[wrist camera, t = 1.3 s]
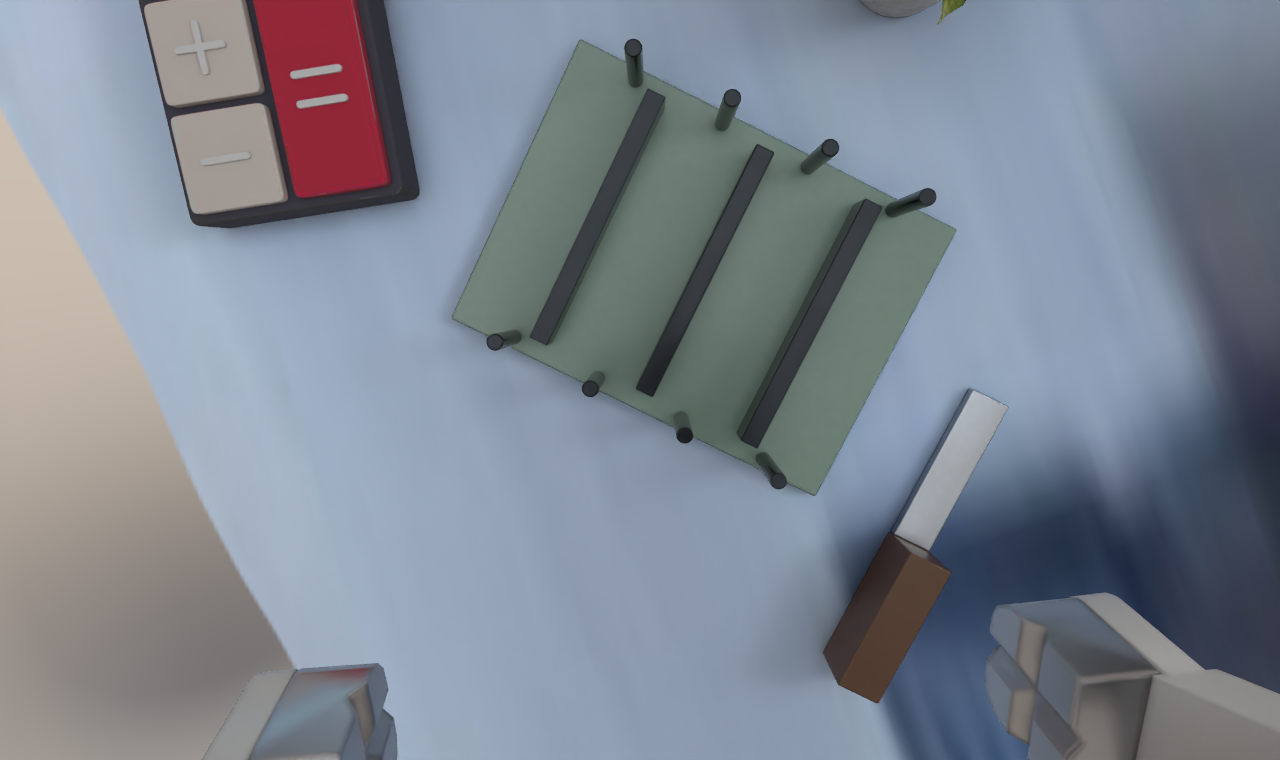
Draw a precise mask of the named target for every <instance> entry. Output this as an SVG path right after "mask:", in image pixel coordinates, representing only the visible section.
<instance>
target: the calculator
mask: <svg viewBox="0 0 1280 760" xmlns="http://www.w3.org/2000/svg"><path fill="white" fill-rule="evenodd" d="M139 4H140V8H141V13H142V17H143V21H144V25H145V29H146V34H147V38H148V42H149V46H150V50H151V55H152V59H153V63H154V67H155V72H156V76H157V80H158V84H159V88H160V93H161V97H162V101H163V105H164V109H165V114H166V118H167V122H168V126H169V130H170V135H171V139H172V143H173V147H174V151H175V156H176V160H177V164H178V168H179V172H180V177H181V181H182V185H183V189H184V193H185V198H186V202H187V206H188V210H189V214H190V218H191V220H192V222H193V223H194V224H196V225H199V226H207V227H220V228H235V227H241V226H248V225H254V224H261V223H267V222H274V221H280V220H286V219H293V218H299V217H306V216H312V215H318V214H325V213H331V212H338V211H344V210H351V209H357V208H363V207H370V206H376V205H383V204H389V203H395V202H402V201H408V200H413V199H415V198H417V196H418V195H419V186H418V180H417V175H416V170H415V165H414V159H413V154H412V149H411V144H410V138H409V133H408V128H407V123H406V117H405V112H404V107H403V102H402V96H401V91H400V86H399V81H398V75H397V70H396V65H395V60H394V54H393V49H392V44H391V39H390V33H389V28H388V23H387V18H386V12H385V7H384V2H383V0H139Z"/></svg>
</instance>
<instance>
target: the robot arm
mask: <svg viewBox="0 0 1280 760" xmlns="http://www.w3.org/2000/svg"><path fill="white" fill-rule="evenodd" d="M990 632H991V634H992V635H993V636H994V638H995V639H996V640H997V642H998V643H999V645H998V646H997V648H996V649H995V650H994V651H993V652H992V654H991V655H990V656H989V657H988V658H987V662H986V675H985V682H986V687H987V692H988V696H989V701H990V704H991V706H992V708H993V710H994V712H995V715H996V717H997V719H998V720H999V721H1000V723H1001V724H1002V726H1003V727H1004V729H1005V730H1006V731H1007V733H1008V734H1010V735H1012V736H1014V737H1015V738H1017V739H1019V740H1021V741H1022V742H1024V743H1026V744H1028V745H1029V751H1028V760H1280V694H1278V693H1276V692H1273V691H1271V690H1268V689H1266V688H1263V687H1261V686H1258V685H1256V684H1253V683H1250V682H1248V681H1245V680H1243V679H1240V678H1238V677H1235V676H1233V675H1230V674H1228V673H1225V672H1223V671H1220V670H1218V669H1213V670H1204V669H1203V668H1202V667H1201V666H1200V665H1198V664H1197V663H1196V662H1195V661H1194V660H1192V659H1191V658H1190V657H1189V656H1188V655H1187V654H1185V653H1184V652H1183V651H1182V650H1181V649H1179V648H1178V647H1177V646H1176V645H1175V644H1173V643H1172V642H1171V641H1170V640H1169V639H1167V638H1166V637H1165V636H1164V635H1163V634H1162V633H1160V632H1159V631H1158V630H1157V629H1156V628H1154V627H1153V626H1152V625H1151V624H1150V623H1148V622H1147V621H1146V620H1145V619H1144V618H1143V617H1141V616H1140V615H1139V614H1138V613H1137V612H1135V611H1134V610H1133V609H1132V608H1131V607H1129V606H1128V605H1127V604H1126V603H1125V602H1123V601H1122V600H1121V599H1120V598H1119V597H1117V596H1114V595H1112V594H1109V593H1098V594H1089V595H1081V596H1073V597H1069V598H1068V599H1057V600H1047V601H1037V602H1027V603H1017V604H1007V605H998V606H997V607H996V609H995V611H994V613H993V615H992V620H991V627H990ZM387 692H388V686H387V681H386V677H385V672H384V668H383V667H382V666H381V665H379V664H378V663H373V664H359V665H345V666H332V667H318V668H304V669H300V670H296V669H294V670H284V671H271V672H260V673H259V674H257V675H256V676H254V677H252V678H251V679H250V681H249V682H248V684H247V686H246V687H245V689H244V690H243V692H242V694H241V695H240V697H239V699H238V700H237V702H236V704H235V705H234V707H233V709H232V710H231V712H230V714H229V715H228V717H227V719H226V720H225V722H224V724H223V725H222V727H221V728H220V730H219V732H218V734H217V735H216V737H215V739H214V740H213V742H212V743H211V745H210V747H209V749H208V750H207V752H206V753H205V755H204V757H203V758H202V760H397V734H396V728H395V722H394V718H393V717H392V716H391V715H390V714H389V713H387V712H386V711H385V710H384V709H383V705H384V701H385V698H386V695H387Z"/></svg>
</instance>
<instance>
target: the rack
mask: <svg viewBox="0 0 1280 760" xmlns="http://www.w3.org/2000/svg"><path fill="white" fill-rule="evenodd" d="M624 49H625V58H626V62H625V61H623V60H621V59H619V58H617V57H615V56H613V55H611V54H609V53H607V52H605V51H603V50H601V49H599V48H597V47H595V46H593V45H591V44H589V43H587V42H585V41H583V40H579V42H578V44H577V47H576V49H575V51H574V53H573V55H572V57H571V60H570V62H569V64H568V66H567V68H566V70H565V73H564V75H563V77H562V79H561V81H560V83H559V86H558V88H557V90H556V92H555V94H554V96H553V98H552V101H551V103H550V105H549V107H548V109H547V111H546V114H545V116H544V118H543V120H542V122H541V124H540V127H539V129H538V131H537V133H536V135H535V137H534V140H533V142H532V144H531V146H530V148H529V150H528V153H527V155H526V157H525V159H524V161H523V163H522V166H521V168H520V170H519V172H518V174H517V176H516V179H515V181H514V183H513V185H512V187H511V189H510V192H509V194H508V196H507V198H506V200H505V202H504V205H503V207H502V209H501V211H500V213H499V215H498V218H497V220H496V222H495V224H494V226H493V228H492V231H491V233H490V235H489V237H488V239H487V241H486V244H485V246H484V248H483V250H482V252H481V254H480V257H479V259H478V261H477V263H476V265H475V267H474V270H473V272H472V274H471V276H470V278H469V280H468V283H467V285H466V287H465V289H464V291H463V293H462V295H461V298H460V300H459V302H458V304H457V306H456V308H455V311H454V313H453V315H452V319H454V320H456V321H458V322H460V323H462V324H464V325H466V326H468V327H470V328H472V329H474V330H476V331H478V332H480V333H482V334H484V335H486V336H489V337H488V338H487V346H488V347H489V348H490V349H491V350H494V351H496V350H500V349H503V348H506V347H511V348H513V349H515V350H517V351H519V352H521V353H523V354H525V355H527V356H529V357H531V358H533V359H536V360H538V361H540V362H542V363H544V364H546V365H548V366H550V367H552V368H554V369H556V370H558V371H560V372H562V373H564V374H566V375H568V376H570V377H572V378H574V379H576V380H578V381H580V382H582V383H584V384H583V386H582V392H583V393H584V395H586V396H587V397H594V396H595V395H597V393H598V392H599V391H601V392H603V393H605V394H607V395H609V396H611V397H613V398H615V399H617V400H619V401H621V402H623V403H625V404H627V405H629V406H631V407H634V408H636V409H638V410H640V411H642V412H644V413H646V414H648V415H650V416H652V417H654V418H656V419H658V420H660V421H662V422H664V423H666V424H668V425H670V426H672V427H674V428H675V430H676V436H677V439H678V441H679V442H681V443H689V442H690V441H691V440H692V439H693V437H695V438H697V439H699V440H701V441H703V442H705V443H707V444H709V445H711V446H713V447H715V448H717V449H719V450H721V451H723V452H725V453H727V454H729V455H732V456H734V457H736V458H738V459H740V460H742V461H744V462H746V463H748V464H750V465H752V466H754V467H756V468H758V469H760V470H762V472H763V473H764V475H765V476H766V478H767V479H768V481H769V482H770V484H771V486H772V487H773V488H775V489H782V488H784V487H785V486H786V484H787V483H789V484H791V485H793V486H795V487H797V488H799V489H801V490H803V491H805V492H807V493H809V494H811V495H813V496H815V495H816V494H817V492H818V490H819V488H820V486H821V484H822V482H823V481H824V479H825V477H826V475H827V473H828V471H829V469H830V467H831V466H832V464H833V462H834V460H835V458H836V456H837V454H838V452H839V451H840V449H841V447H842V445H843V443H844V441H845V439H846V437H847V435H848V434H849V432H850V430H851V428H852V426H853V424H854V422H855V420H856V419H857V417H858V415H859V413H860V411H861V409H862V407H863V405H864V403H865V402H866V400H867V398H868V396H869V394H870V392H871V390H872V388H873V387H874V385H875V383H876V381H877V379H878V377H879V375H880V373H881V372H882V370H883V368H884V366H885V364H886V362H887V360H888V358H889V356H890V355H891V353H892V351H893V349H894V347H895V345H896V343H897V341H898V340H899V338H900V336H901V334H902V332H903V330H904V328H905V326H906V324H907V323H908V321H909V319H910V317H911V315H912V313H913V311H914V309H915V308H916V306H917V304H918V302H919V300H920V298H921V296H922V294H923V293H924V291H925V289H926V287H927V285H928V283H929V281H930V279H931V277H932V276H933V274H934V272H935V270H936V268H937V266H938V264H939V262H940V261H941V259H942V257H943V255H944V253H945V251H946V249H947V247H948V245H949V244H950V242H951V240H952V238H953V236H954V234H955V232H956V229H955V228H953V227H951V226H949V225H947V224H945V223H943V222H941V221H939V220H937V219H935V218H933V217H931V216H929V215H927V214H925V213H923V212H921V211H919V210H918V209H921V208H924V207H927V206H930V205H932V204H933V203H934V202H935V200H936V193H935V191H934V190H932V189H930V188H926V189H923V190H920V191H918V192H916V193H913V194H911V195H908V196H906V197H903V198H901V199H899V200H897V199H895V198H893V197H891V196H889V195H887V194H885V193H883V192H881V191H879V190H877V189H876V188H874V187H872V186H870V185H868V184H866V183H864V182H862V181H860V180H858V179H856V178H854V177H852V176H850V175H848V174H846V173H844V172H842V171H840V170H838V169H836V168H834V167H832V166H830V165H828V164H826V162H827V161H829V160H830V159H831V158H832V157H834V156H835V155H836V154H837V153H838V151H839V145H838V143H837V141H835V140H834V139H827V140H825V141H824V142H823V143H822V144H821V145H820V146H819V147H818V148H817V149H816V150H815V151H813V152H812V153H811V154H810V155H808V154H806V153H804V152H802V151H800V150H798V149H796V148H794V147H793V146H791V145H789V144H787V143H785V142H783V141H781V140H779V139H777V138H775V137H773V136H771V135H769V134H767V133H765V132H763V131H761V130H759V129H757V128H755V127H753V126H751V125H749V124H747V123H745V122H743V121H741V120H739V119H737V118H735V117H734V115H735V113H736V110H737V108H738V106H739V104H740V101H741V95H740V93H739V92H738V91H737V90H735V89H730V90H728V91H726V92H725V94H724V97H723V99H722V102H721V105H720V108H719V109H717V108H715V107H713V106H711V105H710V104H708V103H706V102H704V101H702V100H700V99H698V98H696V97H694V96H692V95H690V94H688V93H686V92H684V91H682V90H680V89H678V88H676V87H674V86H672V85H670V84H668V83H666V82H664V81H662V80H660V79H658V78H656V77H654V76H652V75H650V74H648V73H646V72H644V71H643V56H642V45H641V43H640V42H639V41H638V40H636V39H630V40H628V41H627V42H626V44H625V47H624Z"/></svg>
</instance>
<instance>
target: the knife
mask: <svg viewBox="0 0 1280 760" xmlns="http://www.w3.org/2000/svg"><path fill="white" fill-rule="evenodd" d="M1007 410H1008V406H1006V405H1004V404H1002V403H1000V402H998V401H996V400H994V399H992V398H990V397H988V396H986V395H984V394H982V393H980V392H978V391H976V390H974V389H969V390H968V392H967V393H966V395H965V397H964V399H963V401H962V402H961V404H960V406H959V408H958V410H957V412H956V413H955V415H954V417H953V419H952V421H951V423H950V424H949V426H948V428H947V430H946V432H945V434H944V435H943V437H942V439H941V441H940V443H939V445H938V446H937V448H936V450H935V452H934V454H933V456H932V457H931V459H930V461H929V463H928V465H927V467H926V468H925V470H924V472H923V474H922V476H921V477H920V479H919V481H918V483H917V485H916V487H915V488H914V490H913V492H912V494H911V496H910V498H909V499H908V501H907V503H906V505H905V507H904V509H903V510H902V512H901V514H900V516H899V518H898V520H897V521H896V523H895V525H894V527H893V529H892V531H891V532H889V533H888V535H887V536H886V538H885V540H884V542H883V544H882V546H881V547H880V549H879V551H878V553H877V555H876V557H875V558H874V560H873V562H872V564H871V566H870V568H869V569H868V571H867V573H866V575H865V577H864V578H863V580H862V582H861V584H860V586H859V588H858V589H857V591H856V593H855V595H854V597H853V599H852V600H851V602H850V604H849V606H848V608H847V610H846V611H845V613H844V615H843V617H842V619H841V621H840V622H839V624H838V626H837V628H836V630H835V632H834V633H833V635H832V637H831V639H830V641H829V643H828V644H827V646H826V648H825V650H824V652H823V654H824V656H825V659H826V661H827V663H828V665H829V667H830V669H831V671H832V673H833V675H834V677H835V679H836V681H837V683H838V685H840V686H842V687H844V688H846V689H848V690H850V691H852V692H854V693H856V694H858V695H860V696H862V697H864V698H867V699H869V700H871V701H873V702H875V703H879V701H880V699H881V698H882V696H883V694H884V692H885V690H886V689H887V687H888V685H889V683H890V682H891V680H892V678H893V676H894V674H895V673H896V671H897V669H898V667H899V665H900V664H901V662H902V660H903V658H904V657H905V655H906V653H907V651H908V649H909V648H910V646H911V644H912V642H913V640H914V639H915V637H916V635H917V633H918V632H919V630H920V628H921V626H922V624H923V623H924V621H925V619H926V617H927V615H928V614H929V612H930V610H931V608H932V607H933V605H934V603H935V601H936V599H937V598H938V596H939V594H940V592H941V590H942V589H943V587H944V585H945V583H946V582H947V580H948V578H949V576H950V574H951V572H950V570H948V569H947V568H946V567H945V566H944V565H943V564H942V563H941V562H940V561H939V560H937V559H936V558H935V557H934V556H933V555H932V554H931V553H930V552H929V550H930V549H931V547H932V545H933V543H934V541H935V540H936V538H937V536H938V534H939V532H940V530H941V529H942V527H943V525H944V523H945V521H946V520H947V518H948V516H949V514H950V512H951V511H952V509H953V507H954V505H955V503H956V502H957V500H958V498H959V496H960V494H961V493H962V491H963V489H964V487H965V485H966V484H967V482H968V480H969V478H970V476H971V475H972V473H973V471H974V469H975V467H976V466H977V464H978V462H979V460H980V458H981V457H982V455H983V453H984V451H985V449H986V447H987V446H988V444H989V442H990V440H991V438H992V437H993V435H994V433H995V431H996V429H997V428H998V426H999V424H1000V422H1001V420H1002V419H1003V417H1004V415H1005V413H1006V411H1007Z"/></svg>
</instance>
